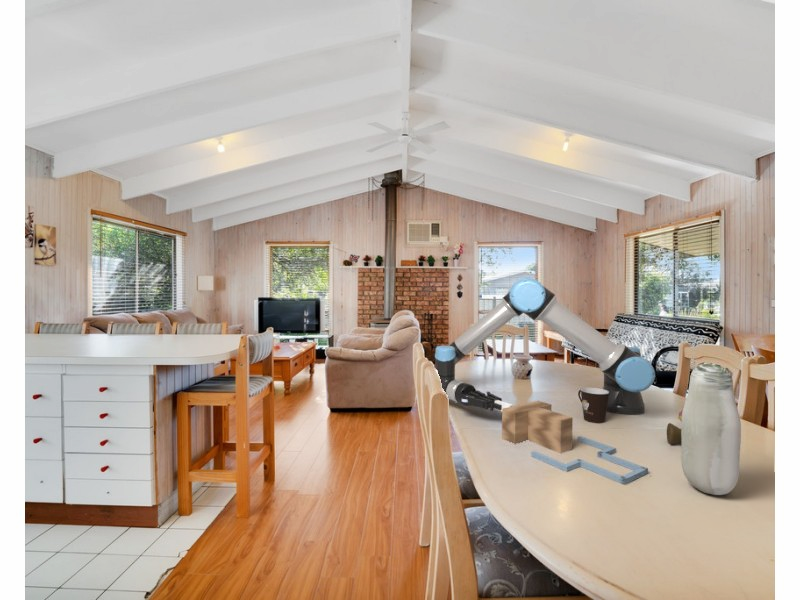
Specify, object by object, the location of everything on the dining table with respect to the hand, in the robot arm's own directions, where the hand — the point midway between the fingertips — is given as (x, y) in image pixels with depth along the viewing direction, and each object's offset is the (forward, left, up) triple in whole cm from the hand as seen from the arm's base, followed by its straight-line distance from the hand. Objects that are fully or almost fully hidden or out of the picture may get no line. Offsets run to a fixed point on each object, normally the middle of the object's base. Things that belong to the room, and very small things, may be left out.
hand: (511, 409), depth 127 cm
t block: (-4, +11, -7) cm, 13 cm away
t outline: (-10, +26, -7) cm, 28 cm away
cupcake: (-55, +14, -7) cm, 57 cm away
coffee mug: (-33, -4, -7) cm, 33 cm away
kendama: (-41, +25, -7) cm, 48 cm away
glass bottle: (-25, +44, -7) cm, 51 cm away
